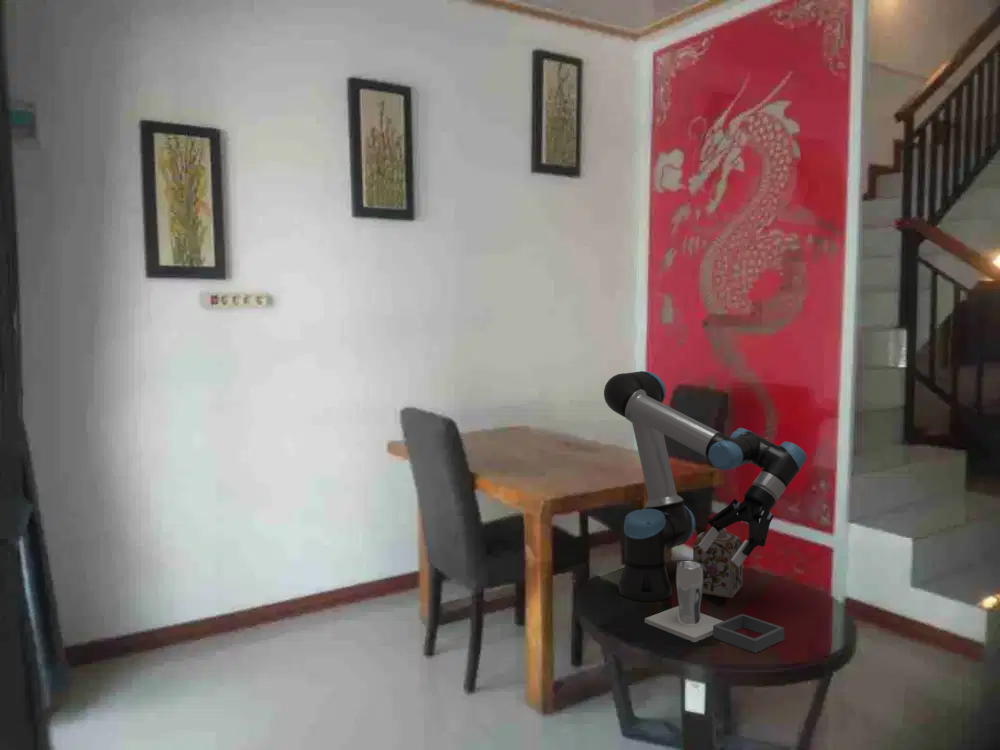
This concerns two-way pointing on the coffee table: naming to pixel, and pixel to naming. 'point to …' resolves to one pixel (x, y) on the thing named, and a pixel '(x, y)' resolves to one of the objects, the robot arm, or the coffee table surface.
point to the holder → (728, 634)
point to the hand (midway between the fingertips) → (717, 556)
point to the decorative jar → (720, 565)
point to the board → (671, 625)
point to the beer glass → (689, 592)
